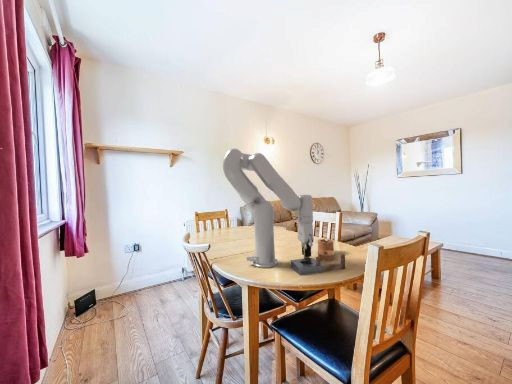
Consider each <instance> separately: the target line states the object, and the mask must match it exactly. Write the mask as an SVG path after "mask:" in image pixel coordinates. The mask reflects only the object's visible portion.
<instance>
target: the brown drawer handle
mask: <svg viewBox="0 0 512 384" xmlns="http://www.w3.org/2000/svg"><path fill="white" fill-rule="evenodd" d="M339 255H340V256H339V257H340V262H337V263H335V262H334V263H329V264H322V263H321V261H322V260H320V257H318V256H316V257H315V260H316V265H321V264H322V265H323V272H327V271H329V272H330V271H335V270H346V268H347V267H346V254H339Z"/></svg>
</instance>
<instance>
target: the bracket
mask: <svg viewBox="0 0 512 384" xmlns="http://www.w3.org/2000/svg"><path fill="white" fill-rule="evenodd" d="M335 254H336V253H335V247H334V240H333V239H329V238H328V239H326V238H322V239H321V238H320V239H318V240H317V257H320V261H324V262H331V261H334V260H335V259H336V255H335Z"/></svg>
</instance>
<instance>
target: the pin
mask: <svg viewBox="0 0 512 384" xmlns="http://www.w3.org/2000/svg"><path fill="white" fill-rule="evenodd" d="M308 242H309V241H308ZM307 245H308V244H307ZM303 246H304V255H303V259H306V258H311V257H305V243H303Z"/></svg>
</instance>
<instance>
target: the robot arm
mask: <svg viewBox="0 0 512 384" xmlns="http://www.w3.org/2000/svg"><path fill="white" fill-rule="evenodd" d="M222 170H223V173H224V176H225V178H226V180H227V181H228V182H229V184H230V185H231V186H232V187H233V188H234V190H235V191H236V193H238V195H239V198H241V200H242V201H243V203H245V204H246V206H247V207H248V209H250V211H251V212H252V213H253V219H254V221H253V222H254V223H253V225H254V228H253V229H254V230H253V232H254V248H255V250H254V251H255V253H254V255H252V256H246V257H245V258H246V259H245V260H246V262H250V263H252V265H253V266H254V267H256V268H261V269H262V268H273V267H276V266H278V264H279V260H278V259H277V258H276V255H275V254H276V253H275V252H276V251H275V232H274V231H275V230H274V226H275V225H274V219H275V218H274V217H275V211H274V210H275V209H274V206H273V204H272V203H271V202H270V201H269V200H266V199H265V197H264V196H263V195H262V194H261V192H260V191H259V189H258V186H257V185H255V184H254V182H252V180H250V178H249V177H248V176H247V175H246V173H245V172H244V171H250V172H254V173H255V174H256V175H257V176H258V177H259V179H260V180H261V182H262V183H263V184H264V186H265V187H267V188H268V189H269V190H270V191H272V192H273V193H274V194H275V195H276V196H277V198H278V199H279V200H280V205H281V206H282V208H283V209H285V210H287V211H290V212H296V211H297V212H296V213H297V240H298V241H299V242H301V254H302V255H303V256H304V246H303V243H305V257H310V258H312V247H313V245H314V238H315V237H314V235H315V234H314V227H313V226H314V225H313V224H314V211H313V208H314V207H313V196H312V195H311V194H299V195H297V193H296V192H295V191H294V189H293V188H292V187H291V186H290V185H289V184H288V183H287V181H286V180H284V178H282V176H281V175H280V174H279V173H278V172H277V170H276V169H275V168H274V167H273V165H272V164H271V163H270V161H269V160H268V159H267V158H266V157H265V155H264V154H262V153H260V152H256V153H253V154H249V153H244V152H241V150H239V149H237V148H231V149H228V151H226V152H225V155H224V157H223V161H222ZM243 170H244V171H243ZM308 241H309V242H308ZM307 244H308V245H307Z"/></svg>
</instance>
